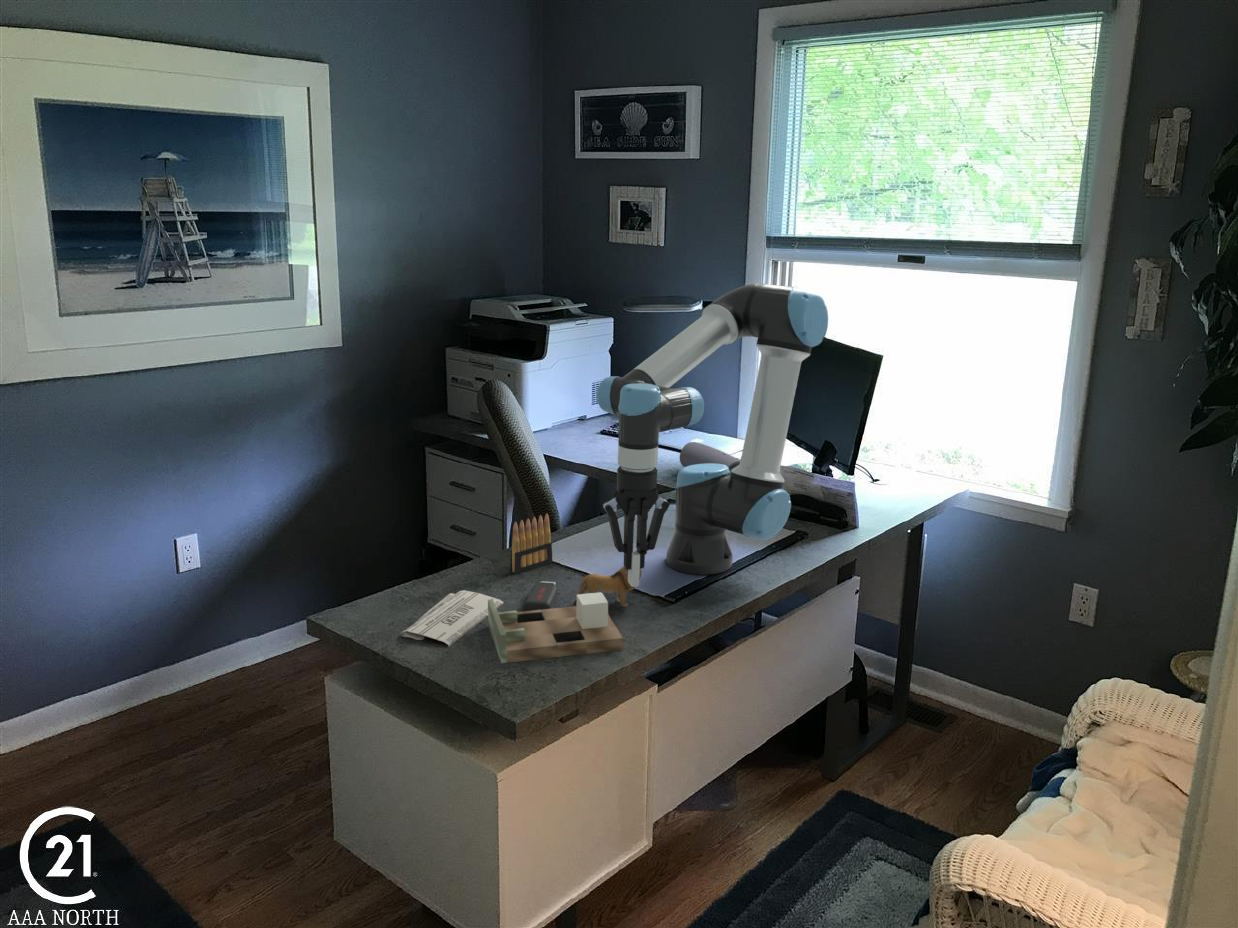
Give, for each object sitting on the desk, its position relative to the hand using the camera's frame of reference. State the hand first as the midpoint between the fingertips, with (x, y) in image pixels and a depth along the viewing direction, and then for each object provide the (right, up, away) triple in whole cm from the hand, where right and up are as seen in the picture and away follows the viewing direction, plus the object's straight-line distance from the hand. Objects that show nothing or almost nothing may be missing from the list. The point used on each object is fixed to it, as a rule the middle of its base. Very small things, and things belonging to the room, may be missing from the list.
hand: (633, 583), depth 196 cm
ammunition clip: (-23, 0, +33) cm, 40 cm away
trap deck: (-15, -10, -1) cm, 18 cm away
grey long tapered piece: (+24, +18, +97) cm, 102 cm away
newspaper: (-37, -9, +6) cm, 38 cm away
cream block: (-8, -8, 0) cm, 11 cm away
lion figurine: (-5, -6, +15) cm, 17 cm away
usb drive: (-19, -6, +16) cm, 25 cm away
